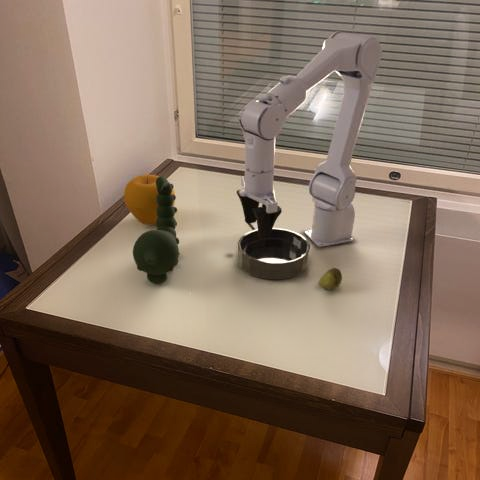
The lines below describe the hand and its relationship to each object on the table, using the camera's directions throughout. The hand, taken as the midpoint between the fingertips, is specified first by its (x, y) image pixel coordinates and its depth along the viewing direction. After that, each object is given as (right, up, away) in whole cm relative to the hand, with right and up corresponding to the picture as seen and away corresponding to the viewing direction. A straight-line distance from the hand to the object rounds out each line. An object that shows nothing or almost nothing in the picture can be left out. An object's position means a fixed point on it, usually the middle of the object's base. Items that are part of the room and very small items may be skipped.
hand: (257, 230), depth 106 cm
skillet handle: (0, +3, +14) cm, 15 cm away
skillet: (+4, -6, +8) cm, 10 cm away
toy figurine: (-21, -7, +6) cm, 23 cm away
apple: (-27, +7, +24) cm, 36 cm away
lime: (+15, -13, 0) cm, 20 cm away
